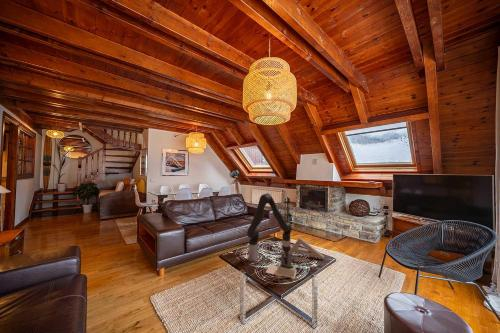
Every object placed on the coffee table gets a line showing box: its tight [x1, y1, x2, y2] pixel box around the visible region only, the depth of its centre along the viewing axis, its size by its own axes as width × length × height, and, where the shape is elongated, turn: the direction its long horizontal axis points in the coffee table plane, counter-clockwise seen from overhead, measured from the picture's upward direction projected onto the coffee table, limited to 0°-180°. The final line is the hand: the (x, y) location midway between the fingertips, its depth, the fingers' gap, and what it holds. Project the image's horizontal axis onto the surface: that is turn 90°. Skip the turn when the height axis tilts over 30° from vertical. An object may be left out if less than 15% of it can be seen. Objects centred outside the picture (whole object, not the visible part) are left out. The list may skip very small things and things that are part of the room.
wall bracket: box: [289, 237, 325, 260], centre depth 210 cm, size 22×4×30 cm
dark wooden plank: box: [280, 251, 293, 269], centre depth 178 cm, size 9×3×14 cm, turn 69°
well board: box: [265, 262, 298, 280], centre depth 180 cm, size 26×14×6 cm, turn 69°
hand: (286, 263), depth 178 cm, fingers closed on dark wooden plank, 3 cm apart
